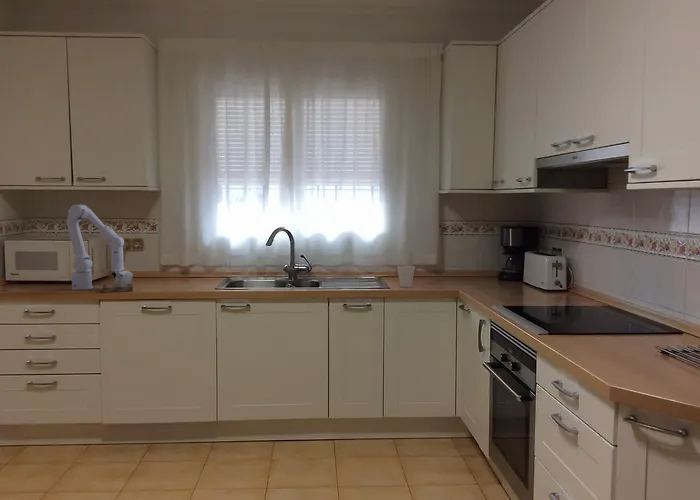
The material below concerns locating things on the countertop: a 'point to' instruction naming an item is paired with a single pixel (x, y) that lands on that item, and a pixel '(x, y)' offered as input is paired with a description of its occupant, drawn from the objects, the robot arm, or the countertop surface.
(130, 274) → the medicine box
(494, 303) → the countertop surface
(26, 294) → the countertop surface
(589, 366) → the countertop surface
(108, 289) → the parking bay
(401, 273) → the cup
